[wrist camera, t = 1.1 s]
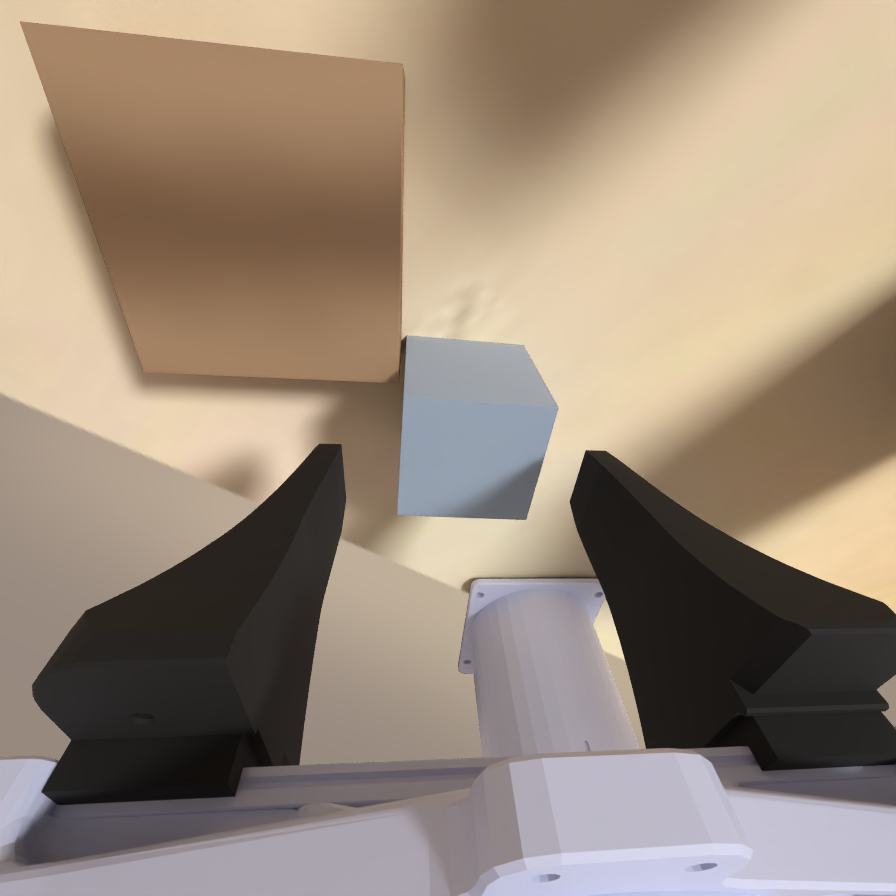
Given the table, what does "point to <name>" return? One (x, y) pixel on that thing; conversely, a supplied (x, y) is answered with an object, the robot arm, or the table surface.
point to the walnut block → (238, 199)
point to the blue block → (471, 429)
